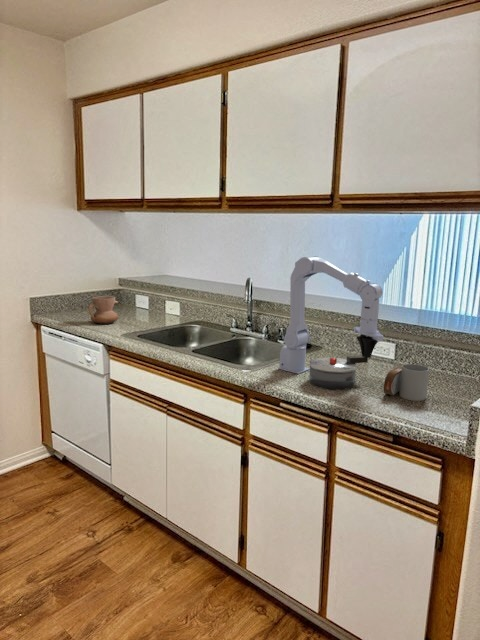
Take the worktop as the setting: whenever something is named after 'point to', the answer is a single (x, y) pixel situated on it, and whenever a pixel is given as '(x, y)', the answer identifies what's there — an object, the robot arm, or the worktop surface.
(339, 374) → the cooker pot
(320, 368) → the lid
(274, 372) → the worktop surface
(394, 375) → the tin
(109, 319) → the ceramic jug
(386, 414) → the worktop surface
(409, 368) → the cup
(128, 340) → the worktop surface
